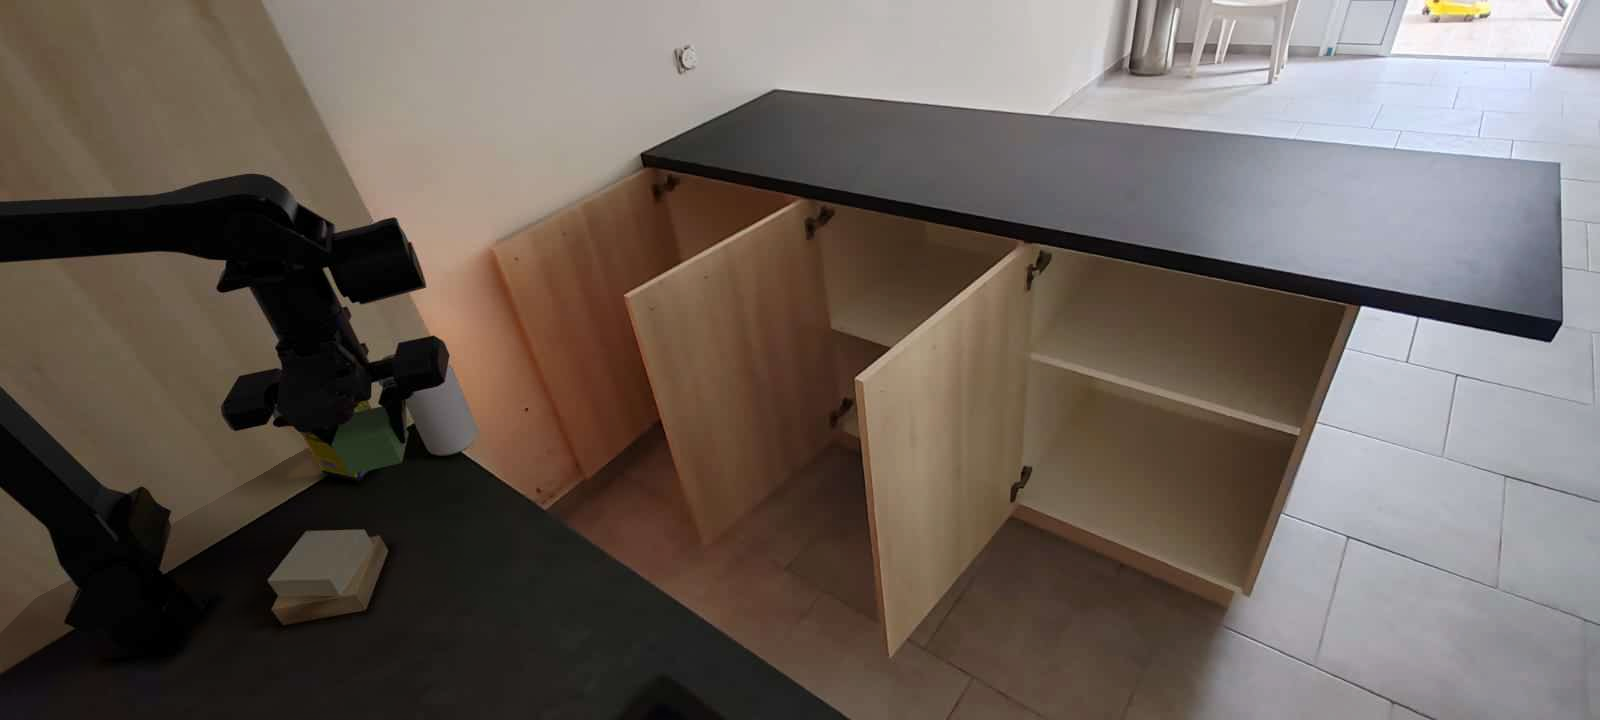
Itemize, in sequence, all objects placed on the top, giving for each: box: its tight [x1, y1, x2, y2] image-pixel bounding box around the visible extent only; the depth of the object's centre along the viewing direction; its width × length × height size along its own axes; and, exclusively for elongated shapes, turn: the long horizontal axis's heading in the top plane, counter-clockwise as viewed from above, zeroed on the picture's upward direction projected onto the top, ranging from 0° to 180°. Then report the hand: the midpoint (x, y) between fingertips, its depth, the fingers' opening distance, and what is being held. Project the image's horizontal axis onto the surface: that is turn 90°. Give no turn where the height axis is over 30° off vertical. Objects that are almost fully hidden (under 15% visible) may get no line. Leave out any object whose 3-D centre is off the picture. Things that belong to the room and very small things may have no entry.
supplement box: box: [300, 400, 373, 482], centre depth 92 cm, size 6×6×11 cm
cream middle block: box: [266, 529, 374, 597], centre depth 76 cm, size 6×6×2 cm
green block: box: [332, 406, 409, 475], centre depth 75 cm, size 5×5×4 cm
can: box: [406, 362, 479, 457], centre depth 94 cm, size 6×6×12 cm
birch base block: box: [271, 535, 389, 626], centre depth 77 cm, size 8×8×2 cm
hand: (376, 447), depth 76 cm, fingers closed on green block, 5 cm apart
